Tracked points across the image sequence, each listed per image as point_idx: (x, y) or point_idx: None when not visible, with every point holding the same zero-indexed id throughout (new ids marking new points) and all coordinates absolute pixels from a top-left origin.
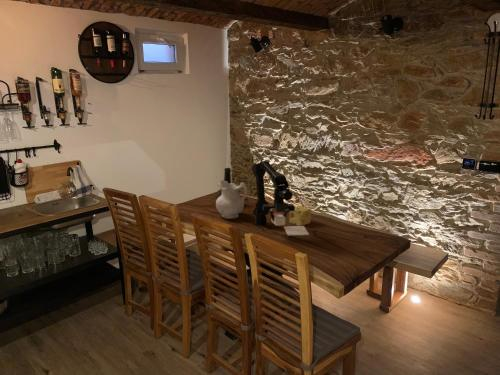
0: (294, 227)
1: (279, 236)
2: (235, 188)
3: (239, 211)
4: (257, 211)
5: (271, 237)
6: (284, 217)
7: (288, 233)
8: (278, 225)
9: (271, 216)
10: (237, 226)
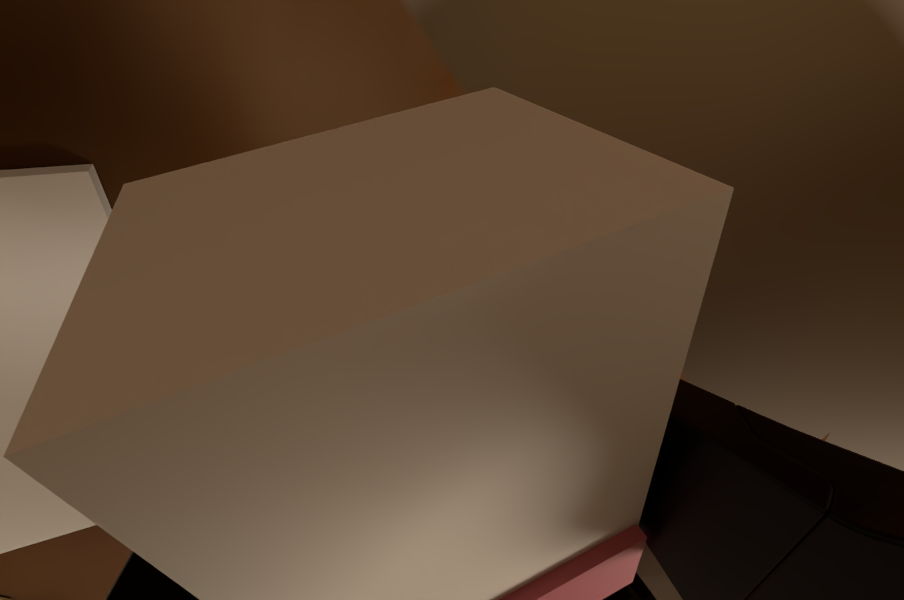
0: (9, 512)
1: (292, 123)
2: None
3: (649, 557)
4: (644, 585)
5: (450, 75)
6: (116, 482)
7: (86, 246)
8: (416, 108)
9: (745, 411)
10: (683, 374)
